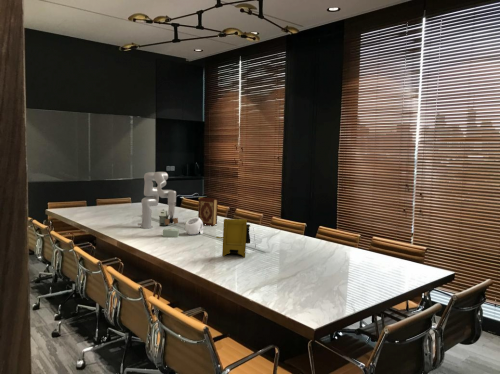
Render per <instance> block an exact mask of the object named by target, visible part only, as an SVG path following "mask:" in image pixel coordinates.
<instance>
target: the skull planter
mask: <svg viewBox="0 0 500 374" xmlns="http://www.w3.org/2000/svg"><path fill="white" fill-rule="evenodd" d="M184 229H185V230H184V231H186V234H188V235H190V236H191V235H193V236H195V235H197V234H199V235H203V234H204V225H203V222H202V220H201V219H200V218H198V216H196V217H191V218H189V219H188V220H187V221H186V222H185V225H184ZM199 232H200V233H199Z"/></svg>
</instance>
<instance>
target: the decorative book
mask: <svg viewBox="0 0 500 374" xmlns="http://www.w3.org/2000/svg"><path fill="white" fill-rule="evenodd" d="M218 203H219V199H218V198H213V197H211V198H210V197H209V198H208V197H198V212H197V213H198V214H197V217H198V218H200V219H201V220H202V222H203V224H206V225H205V226H208V225H213V226H216V225H215V224H217V225H218V206H219V204H218Z"/></svg>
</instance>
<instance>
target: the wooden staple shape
mask: <svg viewBox="0 0 500 374" xmlns="http://www.w3.org/2000/svg"><path fill="white" fill-rule="evenodd" d="M163 221H164V225H165V226H166V225H170V224H171V223H169V221H170V218H165V219H164V220H163ZM173 224H179V218H178V217H173Z"/></svg>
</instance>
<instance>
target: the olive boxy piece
mask: <svg viewBox="0 0 500 374" xmlns="http://www.w3.org/2000/svg"><path fill="white" fill-rule="evenodd" d="M250 227H251V224H248V220H247V219H240V218H239V219H237V218H224V219H223V227H222V228H223V229H222V230H223V231H222V232H223V233H222V236H216V239H222V251H221V252H222V254H221V257H222V256H224V257H225V256H226V255H227V254H237V255H241V256H242V258H246V250H247V249H246V247H247V245H248V244H251V236H250ZM252 228H253V231H254V230H255V229H254V228H255V227H252ZM255 237H256V236H255V235H254V236H253V238H254V240H256V239H255ZM254 246H255V247H254V249H253V250H255V248H256V244H254ZM247 254H248V255H249V254H250V253H248V252H247Z"/></svg>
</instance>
